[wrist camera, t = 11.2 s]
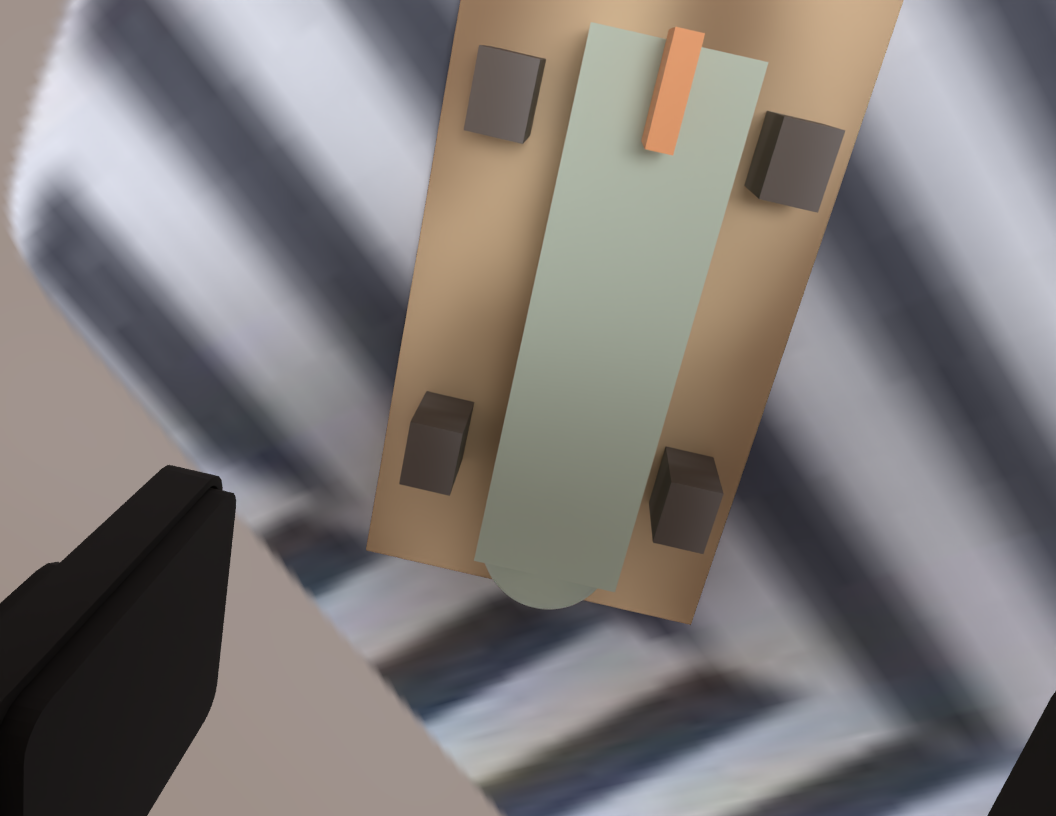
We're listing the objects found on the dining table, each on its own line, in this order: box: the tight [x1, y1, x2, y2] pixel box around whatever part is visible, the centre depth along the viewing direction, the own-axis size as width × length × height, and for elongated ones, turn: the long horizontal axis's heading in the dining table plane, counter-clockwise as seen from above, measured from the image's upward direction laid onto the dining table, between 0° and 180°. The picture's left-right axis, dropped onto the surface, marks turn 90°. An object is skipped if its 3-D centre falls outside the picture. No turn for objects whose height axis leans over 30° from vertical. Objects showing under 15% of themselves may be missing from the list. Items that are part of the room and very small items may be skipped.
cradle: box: [366, 0, 903, 625], centre depth 25 cm, size 11×20×4 cm, turn 168°
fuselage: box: [474, 22, 768, 609], centre depth 24 cm, size 4×16×6 cm, turn 168°
